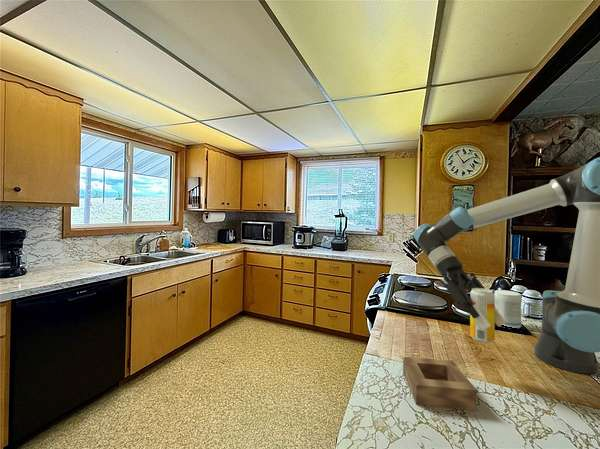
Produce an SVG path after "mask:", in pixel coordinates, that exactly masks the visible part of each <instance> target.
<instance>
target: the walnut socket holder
mask: <svg viewBox="0 0 600 449" xmlns="http://www.w3.org/2000/svg"><path fill="white" fill-rule="evenodd" d="M402 358H403V362H402V364H403V365H402V367H403V368H402V373H403V376H404V379H405V381H406V383H407V386H408V388H409V390H410V394H411V396H412V398H413V400H414V403H415V405H419V406H425V407H426V406H429V407H438V408H448V409H456V410H467V411H474V412H475V411H476V412H477V411H478V410H477V408H478V407H477V402H478V401H477V398H478V391H477V390H478V389H477V388H476V387H475V386H474V385H473V383H471V381H470V380H469V378H468V377H467V376H466V375H465V374H464V372H463V371H462V370H461V369H460V368H459V367H458V365H457V364H456V362H454V360H449V359H438V358H437V359H436V358H435V359H434V358H422V357H413V356H412V357H410V356H403V357H402Z"/></svg>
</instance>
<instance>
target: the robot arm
mask: <svg viewBox="0 0 600 449" xmlns="http://www.w3.org/2000/svg"><path fill="white" fill-rule="evenodd" d="M571 205H574V206H575V207H576V208H577V209H578V217H577V222H576V227H575V233H574V239H573V243H572V244H573V245H572V249H571V254H570V260H569V267H568V270H567V277H566V281H565V288H564V290H562V291H561V290H548V289H547V290H544V291H543V293H542V297H541V300H542V303H541V306H542V308H541V309H542V312H541V314H542V315H541V316H542V317H541V333H540V335H539V338H538V340H537V342H536V344H535V345H534V356H535V357H536V358H537V359H538V360H540V361H543V362H544V363H547V364H549V365H551V366H553V367H556V368H559V369H562V370H565V371H569V372H573V373H578V374H579V373H580V374H588V375H589V374H590V375H591V374H596V373H598V372H599V369H600V368H599V361H598V358H597V355H596V353H600V156H599V157H596V158H594V159H592V160H591V161H589V162H587V163H585V164H584V165H582V166H580V167H578V168H576V169H575V170H572V171H571V172H568V173H566V174H564V175H561V176H559V177H556V178H553V179H550V181H549V183H547V184H544V185H541V186H538V187H535V188H531V189H528V190H525V191H521V192H519V193H515V194H512V195H509V196H506V197H503V198H500V199H496V200H493V201H490V202H488V203H484V204H481V205H478V206H474V207H472V208H468V209H464V207H462V206H458V207H456V208H455V209H453V210H451V211H450V212H449V213H447V214H446V215H445V216H443V217H441V219H440V220H438V221H437V222H436V223H434V224H432V225H431V224H429V223H423V224H421V225H419V226H417V227H416V229H414V231H413V238H414V240H415V241H416V242H417V244H418V246H419V247H420V249H421V250H422V251H423V252H424V254H425V255H426V257H427V258H428V259H429V260H430V262H431V263H432V265H433V266H434V267H435V268H436V270H437V272H438V273H439V274H440V275H441V277H442V279H441V280H440V283H441V284H442V285H443V286H444V287H445V288H446V290H447V291H448V293H449V294H450V296H451V297H452V299H453V301H454V302H455V304H456V305H457V307H458V308H460V309H462V310H463V311H466V310H467V312H468V313H469V315H470V314H471V316H472V317H473V318H474V319H475V320H476V322H477V323H478V324H479V326H480V327H481V328H482V330H485V329H486V328H488V327H490V326H491V324H490V323H489V322H488V320H487V319H486V318H485V316H484V315H483V314H482V313H481V311H480V310H479V309H478V307H477V306H476V305H473V306H472V302H471V300H470V296H469V294H468V292H469V293H470V292H471V290H472V288H484V289H486V288H485V286H484V285H483V284H482V282H481V281H480V280H479V279H478V278H477V276H476V275H475V274H474V273H469V274H468V273H467V272H466V271H465V270H463V268H464V267H463V263H462V261H460V259H459V258H458V257H457V256H456V255H455V253H454V252H453V251H452V250H451V249H450V246H448V245H447V244H446V243H447V242H449V241H450V240H452V239H453V238H455V237H457V236H458V235H459V234H460V233H463V232H466V231H470V230H474V229H477V228H480V227H484V226H487V225H491V224H495V223H497V222H501V221H505V220H508V219H512V218H515V217H519V216H520V217H521V216H523V215H527V214H530V213H534V212H538V211H541V210H545V209H548V208H552V207H555V206H562V207H567V206H571ZM467 290H468V292H467ZM504 323H506V321H505V319H504V318H503V317H502V316H501V314H500V313H499V312H498V310H497V309H496V308H495V326H497V327H498V328H499V327H502V326H501V325H503V324H504Z"/></svg>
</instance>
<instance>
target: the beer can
mask: <svg viewBox="0 0 600 449" xmlns="http://www.w3.org/2000/svg"><path fill="white" fill-rule="evenodd" d="M469 294H470V296H469V298H470V300H471V302H472V306H473V305H476V306H477V307H478V309H479V310H480V311H481V313H482V314H483V315H484V316H485V318H486V319H487V320H488V322H489V323H490V324H491V326H490V327H488V328H486V329H485V330H482V328H481V327H480V326H479V324H478V323H477V322H476V320H475V319H474V318H473V317H472V316H471V314H470V313H469V315H470V316H469V318H470V319H469V331H470V332H469V334H470V336H471V338H472V339H473V340H474V341H476V342H479V343H482V344H491V343H493V342H494V341H495V338H496V336H495V330H496V329H495V328H496V323H495V295H494V294H495V292H494V291H493V290H491V289H489V288H485V289H484V288H472V290H471V292H469Z"/></svg>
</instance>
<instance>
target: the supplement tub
mask: <svg viewBox="0 0 600 449" xmlns="http://www.w3.org/2000/svg"><path fill="white" fill-rule="evenodd" d="M494 295H495V308H496V309H497V310H498V312H499V313H500V314H501V316H502V317H503V318H504V319H505V321H506V323H504V324H503V325H504V326H507V327H512V328H517V329H520V328H521V327H522V297H521V295H522V294H521V293H519V292H517V291H513V290H512V291H511V290H504V289H496V290H494Z"/></svg>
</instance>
